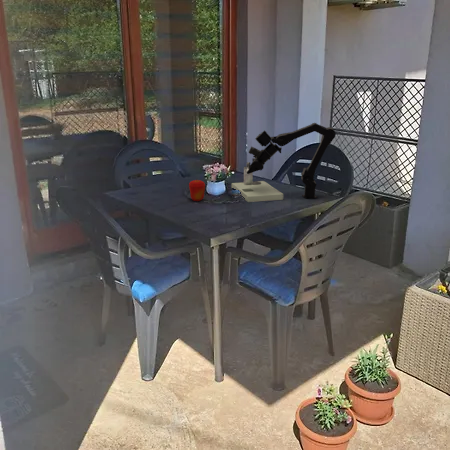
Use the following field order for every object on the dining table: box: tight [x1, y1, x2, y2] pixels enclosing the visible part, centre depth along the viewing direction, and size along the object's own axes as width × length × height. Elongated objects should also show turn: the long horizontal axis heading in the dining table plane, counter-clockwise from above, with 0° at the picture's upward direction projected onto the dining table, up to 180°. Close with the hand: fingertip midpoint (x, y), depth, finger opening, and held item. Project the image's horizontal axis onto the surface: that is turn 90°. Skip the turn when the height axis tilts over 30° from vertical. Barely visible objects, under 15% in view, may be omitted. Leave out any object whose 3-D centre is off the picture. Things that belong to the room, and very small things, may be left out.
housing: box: [231, 180, 284, 203], centre depth 276 cm, size 30×20×3 cm, turn 16°
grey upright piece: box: [243, 161, 254, 185], centre depth 269 cm, size 5×5×12 cm
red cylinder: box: [188, 179, 206, 202], centre depth 262 cm, size 9×8×12 cm
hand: (247, 172), depth 269 cm, fingers closed on grey upright piece, 5 cm apart
